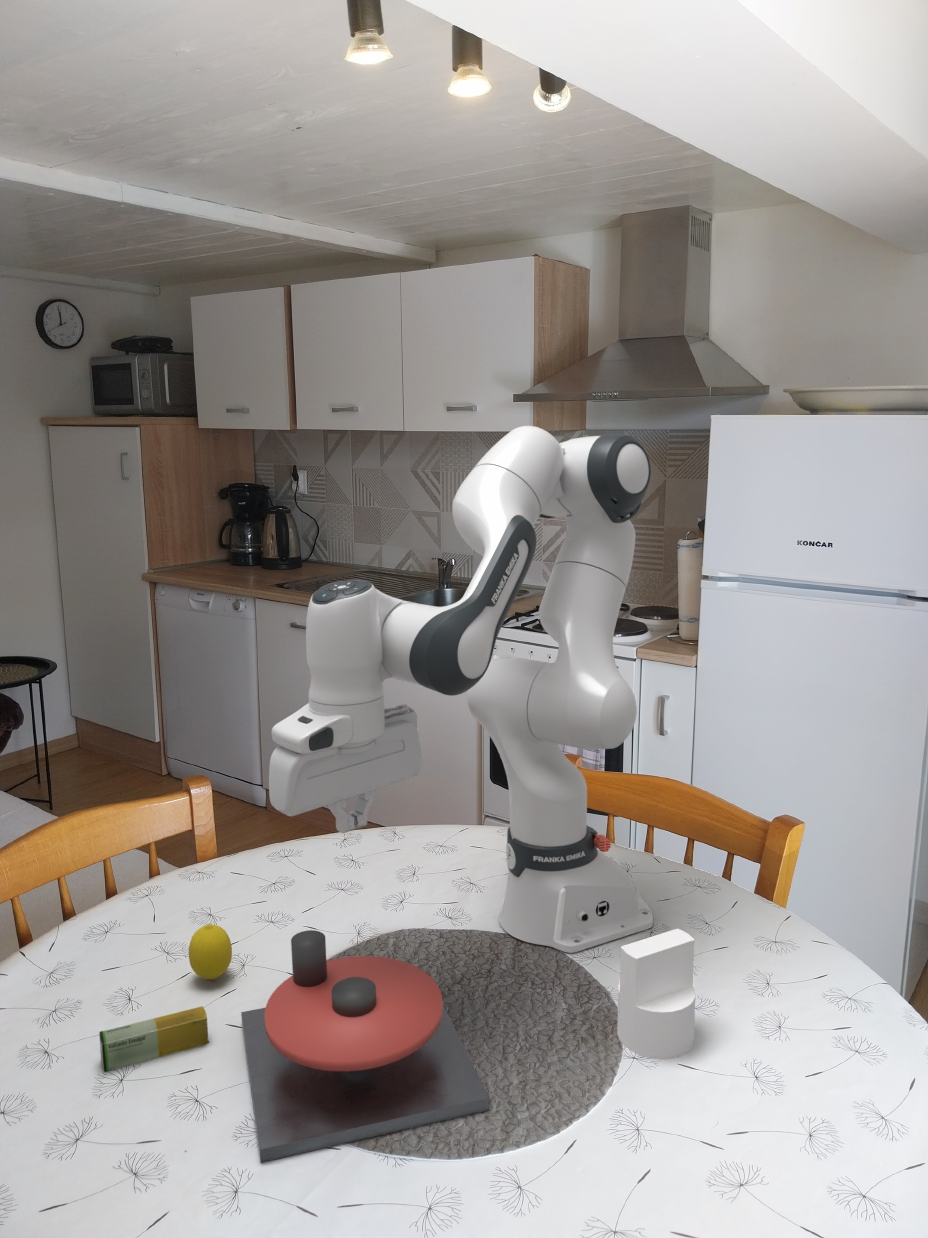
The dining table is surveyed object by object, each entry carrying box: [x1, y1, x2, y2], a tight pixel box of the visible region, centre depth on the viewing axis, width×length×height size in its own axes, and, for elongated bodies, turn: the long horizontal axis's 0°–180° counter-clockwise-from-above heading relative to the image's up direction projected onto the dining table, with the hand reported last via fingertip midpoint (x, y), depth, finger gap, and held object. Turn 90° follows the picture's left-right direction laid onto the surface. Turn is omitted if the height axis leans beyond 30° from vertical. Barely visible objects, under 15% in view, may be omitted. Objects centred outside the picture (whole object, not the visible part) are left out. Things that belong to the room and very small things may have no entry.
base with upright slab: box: [616, 928, 696, 1060], centre depth 113 cm, size 9×9×12 cm
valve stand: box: [240, 1004, 490, 1163], centre depth 109 cm, size 24×24×6 cm
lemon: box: [188, 923, 233, 981], centre depth 126 cm, size 6×6×8 cm
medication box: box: [98, 1005, 210, 1073], centre depth 112 cm, size 12×3×4 cm, turn 115°
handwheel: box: [264, 929, 444, 1071], centre depth 108 cm, size 20×20×6 cm
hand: (351, 828), depth 116 cm, fingers closed
